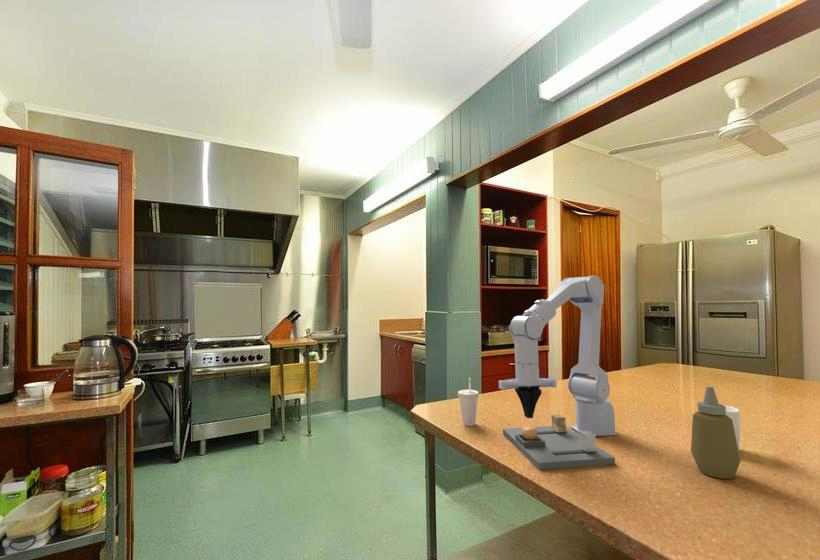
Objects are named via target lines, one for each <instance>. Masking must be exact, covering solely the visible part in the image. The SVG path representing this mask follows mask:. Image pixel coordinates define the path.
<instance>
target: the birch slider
mask: <svg viewBox="0 0 820 560" xmlns="http://www.w3.org/2000/svg"><path fill="white" fill-rule="evenodd" d="M551 426H552V429H553V430H555V431H556V432H566V427H567V423H566V417H565V416H564V415H562V414H560V413H556V414H555V413H554V414H551Z"/></svg>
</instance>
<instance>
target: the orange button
mask: <svg viewBox="0 0 820 560" xmlns="http://www.w3.org/2000/svg"><path fill="white" fill-rule="evenodd" d="M535 427H536V426H532V425H525V426H522V427H521V428H522V436H523V437H524V438H526V439H536V438H537V428H535Z"/></svg>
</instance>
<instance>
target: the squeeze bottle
mask: <svg viewBox="0 0 820 560" xmlns="http://www.w3.org/2000/svg"><path fill="white" fill-rule="evenodd" d="M696 404H697V411H696V412H694V413H693V414H692V421H691V422H692V424H691V426H692V427H691V439H690V440H691V441H690V442H691V443H690V452H691V455H692V456H693V459H694V462H695V464H696V466H697V468H698V470H699V472H701V473H702V474H705V475H707V476H710V477H713V478H717V479H724V480H732V479H735V476H736V474H737V471H738V468H739V467H740V466H739V465H740V463H741V455H740V451H739V450H738V445H737V441H736V436H735V431H734V426H733V421H732V419H731V418H730V417H728V416H727V415H725V414H726V407H725V406H724V405H725V404H721V403H719V400H718V397H717V394H716V391H715V389H714V387H713V386H706V387H705V392H704V398H703V401H699V402H697V403H696Z"/></svg>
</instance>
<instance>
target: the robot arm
mask: <svg viewBox="0 0 820 560" xmlns="http://www.w3.org/2000/svg"><path fill="white" fill-rule="evenodd" d="M604 294H605V285H604V283H603V282H602V280H601V279H600V277H599V276H597V275H590V276H588V275H587V276H578V277H566V278H564V279H562V280H561V281H560V282H559V286H558V287H557V289H555V291H554V292H553V293H551V295H549V296H548V298H547V299H537V300H536V301H534V304H533V305H532V306H530V307H529V308H528V309H526V310H524V312H523V314H522V315H516V316H514V317H513V318H512V319H511V321H510V324H509V326H508V330H509V333H510V335H511V336H512V337H511V338H512V342H513V344H514V362H515V363H514V366H515V378H511V379H510V378H509V379H504V380H502V379H501V380H498V389H500V390H502V391H503V390H510V389H514V391H515V392H516V395H517V396H518V398H519V401H520V403H521V406H522V410H523V415H524V417H525V418H527V419H533V418H534V413H535V410H536V405H537V403H538V401H539V399H540V397H541V395H542V389H541V388H557V386H558V385H557V379H555V378H552V377H551V378H549V377H547V378H546V377H545V378H543V377H540V365H539V363H540V362H539V361H540V360H539V343H538V342H539V341H538V338H540V337H541V336H542V334H543V330H544V328H545V326H546V325H547V324H548V323H549V322H550V321H551V320H552V319H553V318H555V316H556V314H557V309H559V308H560V307H562V305H564V304H565V303H567V302H568V301H570V302H571V303H572V304H573V305H574V306H577V308H579V309H580V326H579V329H580V330H579V345H578V361H577V364H575V365H574V366H573V367H572V368H571V369H570V374H569V378H568V380H567V389H568V391H569V392H570V394H571V395H572V398H573V399H575V400H574V402H575V424H574V425H569V427H570V428H571V430H574V431H576V432H578V431H587V430H588V431H589V432H591V433H593V434H595V437H600V436H601V437H603V436H615V435H616V436H618V432H617V431H616V420H615V419H616V418H615V417H616V416H615V410H614V405H613V404H612V402H611V401H610V400H609V399H608V398H609V396H610V394H611V387H610V383H609V374H608V373H607V372H606V371H605V370H604V369H602V368H601V366H600V348H601V323H602V306H603V305H604V297H605V296H604Z"/></svg>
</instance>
